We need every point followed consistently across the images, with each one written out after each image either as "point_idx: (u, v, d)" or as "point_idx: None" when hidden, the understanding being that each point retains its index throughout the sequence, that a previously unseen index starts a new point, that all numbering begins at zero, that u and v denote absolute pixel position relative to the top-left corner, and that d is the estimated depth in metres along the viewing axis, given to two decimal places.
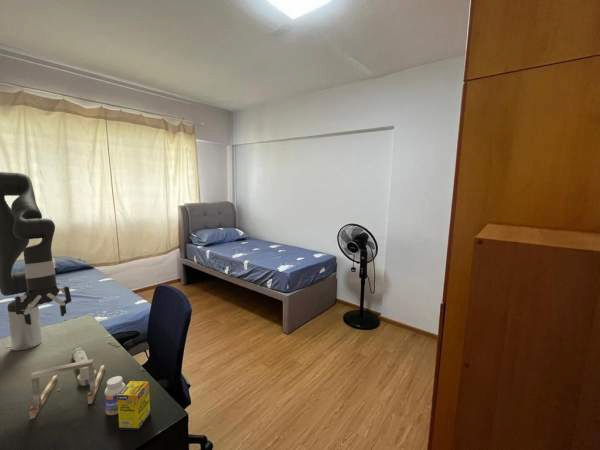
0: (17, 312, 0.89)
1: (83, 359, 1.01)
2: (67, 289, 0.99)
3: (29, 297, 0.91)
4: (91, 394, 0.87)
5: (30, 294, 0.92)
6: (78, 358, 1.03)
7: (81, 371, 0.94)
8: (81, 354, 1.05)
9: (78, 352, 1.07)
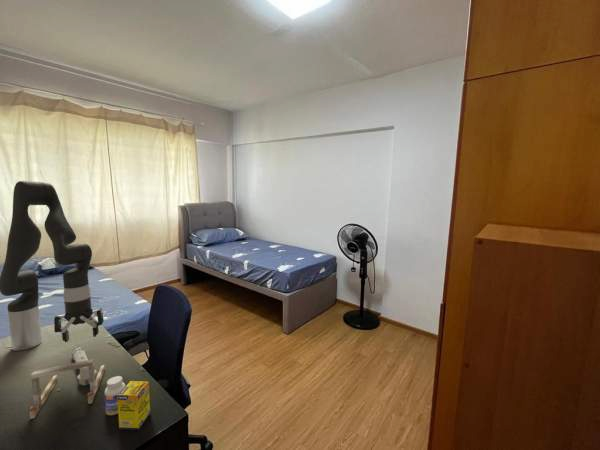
0: (55, 330, 0.97)
1: (83, 359, 1.01)
2: (99, 313, 1.02)
3: (66, 317, 0.98)
4: (91, 394, 0.87)
5: (67, 315, 0.98)
6: (78, 358, 1.03)
7: (81, 371, 0.94)
8: (81, 354, 1.05)
9: (78, 352, 1.07)
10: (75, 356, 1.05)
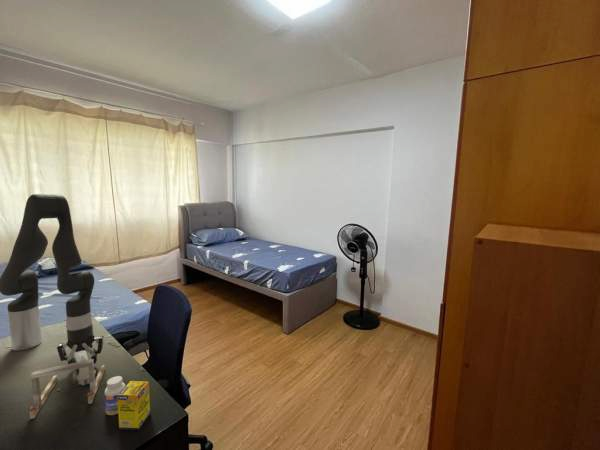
0: (61, 359, 0.99)
1: (83, 358, 1.01)
2: (100, 341, 1.03)
3: (68, 345, 0.99)
4: (91, 394, 0.87)
5: (68, 343, 0.99)
6: (78, 357, 1.03)
7: (80, 371, 0.94)
8: (82, 353, 1.05)
9: (79, 351, 1.07)
10: (76, 355, 1.05)
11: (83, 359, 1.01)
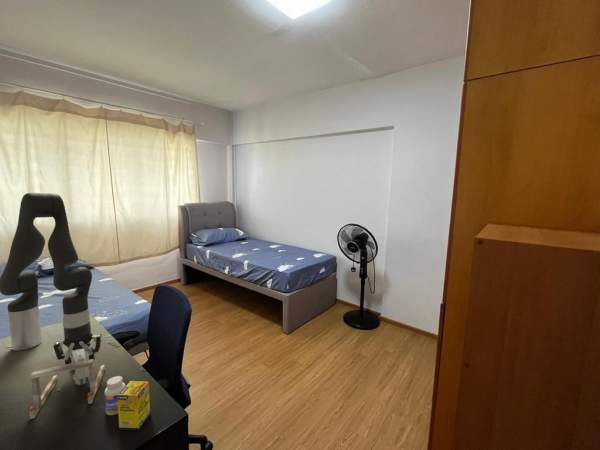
0: (58, 358, 0.95)
1: (80, 357, 0.98)
2: (98, 339, 1.00)
3: (65, 343, 0.96)
4: (91, 394, 0.87)
5: (65, 341, 0.96)
6: (76, 356, 1.00)
7: (76, 370, 0.91)
8: (79, 352, 1.02)
9: None
10: (73, 354, 1.02)
11: (80, 358, 0.98)
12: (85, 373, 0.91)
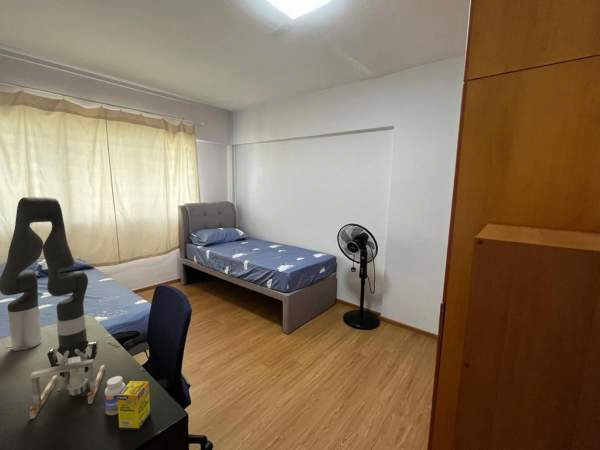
0: (52, 366, 0.91)
1: None
2: (94, 346, 0.96)
3: (59, 351, 0.92)
4: (91, 394, 0.87)
5: (60, 348, 0.92)
6: None
7: (70, 379, 0.87)
8: (75, 359, 0.98)
9: (73, 357, 1.00)
10: (69, 361, 0.98)
11: None
12: (80, 383, 0.87)
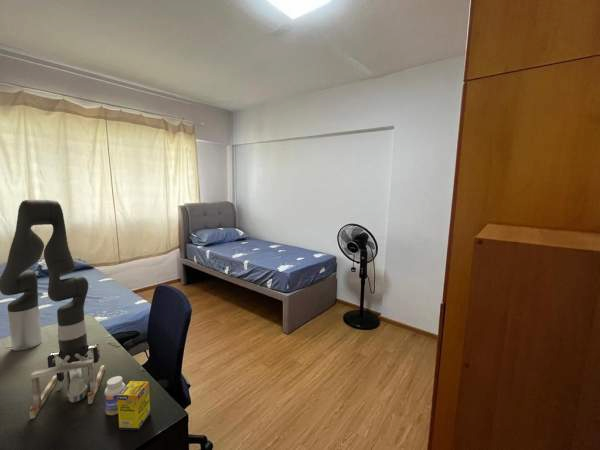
0: None
1: (76, 371, 0.94)
2: (95, 350, 0.96)
3: (60, 356, 0.92)
4: (91, 394, 0.87)
5: (61, 353, 0.92)
6: (72, 370, 0.96)
7: (70, 386, 0.87)
8: None
9: (73, 362, 1.00)
10: None
11: (76, 372, 0.94)
12: (79, 390, 0.87)
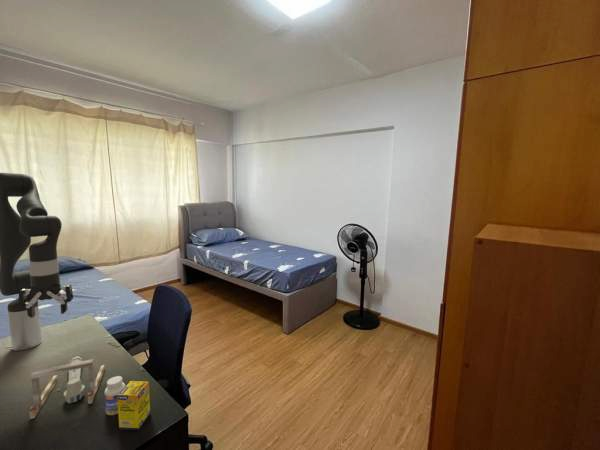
0: (20, 305, 0.92)
1: (74, 372, 0.94)
2: (67, 289, 0.98)
3: (31, 292, 0.93)
4: (91, 394, 0.87)
5: (32, 289, 0.93)
6: (71, 370, 0.96)
7: (67, 387, 0.86)
8: None
9: (73, 362, 1.00)
10: None
11: (74, 372, 0.94)
12: (76, 391, 0.87)
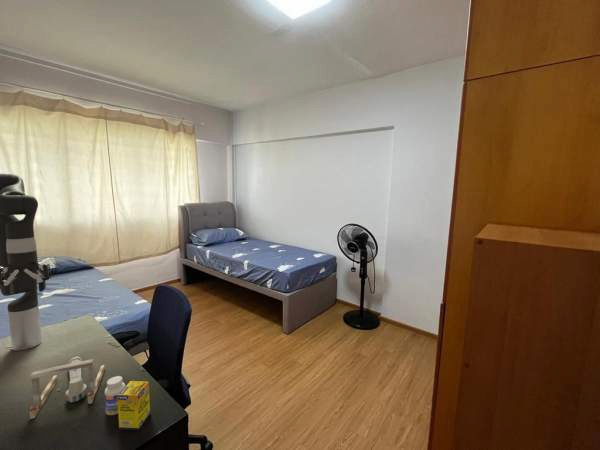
0: None
1: (75, 371, 0.94)
2: (45, 267, 1.00)
3: (9, 270, 0.96)
4: (91, 394, 0.87)
5: (10, 267, 0.96)
6: None
7: (69, 386, 0.87)
8: None
9: (73, 362, 1.00)
10: None
11: (75, 372, 0.94)
12: (78, 390, 0.87)
